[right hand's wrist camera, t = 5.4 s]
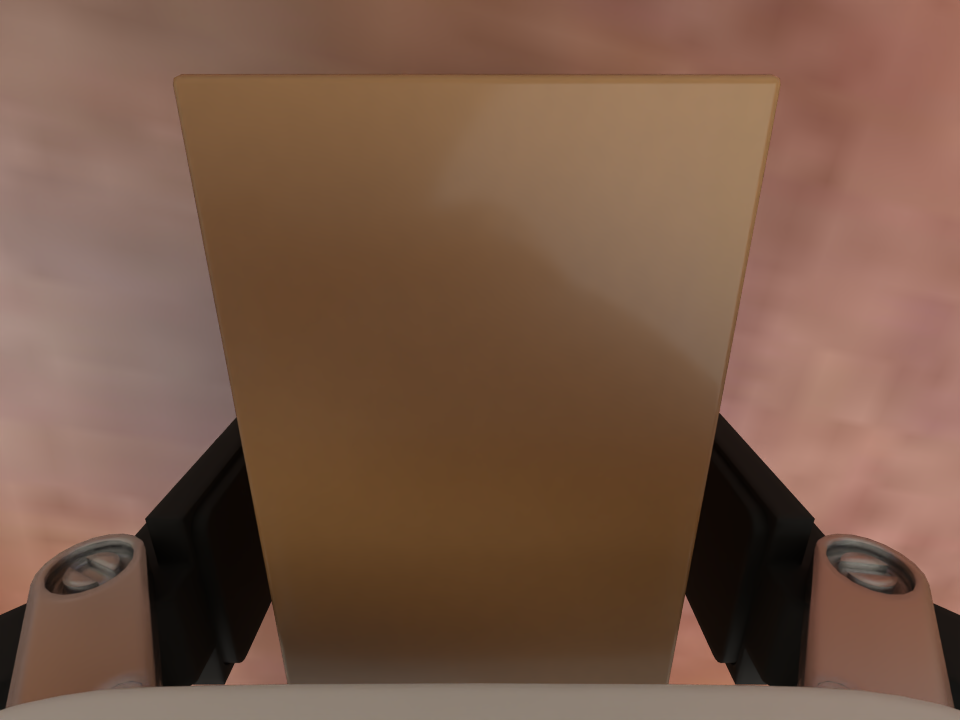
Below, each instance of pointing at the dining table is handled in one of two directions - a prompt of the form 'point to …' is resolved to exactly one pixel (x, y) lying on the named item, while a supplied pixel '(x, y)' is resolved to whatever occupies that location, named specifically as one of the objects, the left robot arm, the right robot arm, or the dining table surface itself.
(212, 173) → the bar
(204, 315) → the dining table surface
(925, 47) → the dining table surface
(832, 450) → the dining table surface
